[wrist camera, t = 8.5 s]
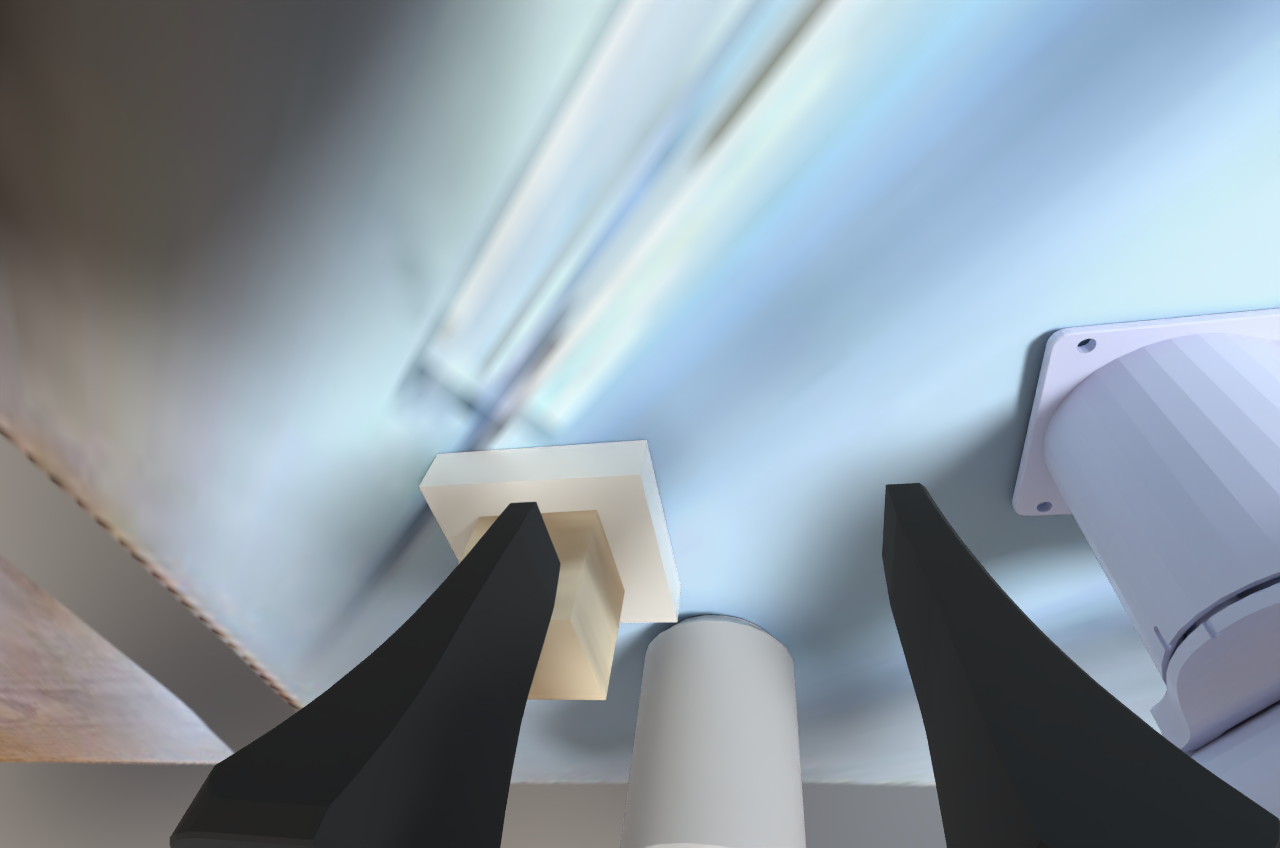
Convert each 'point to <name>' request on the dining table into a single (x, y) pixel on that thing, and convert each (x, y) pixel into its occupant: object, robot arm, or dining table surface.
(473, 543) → the cube
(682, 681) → the can
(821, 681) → the dining table surface
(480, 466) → the coaster
